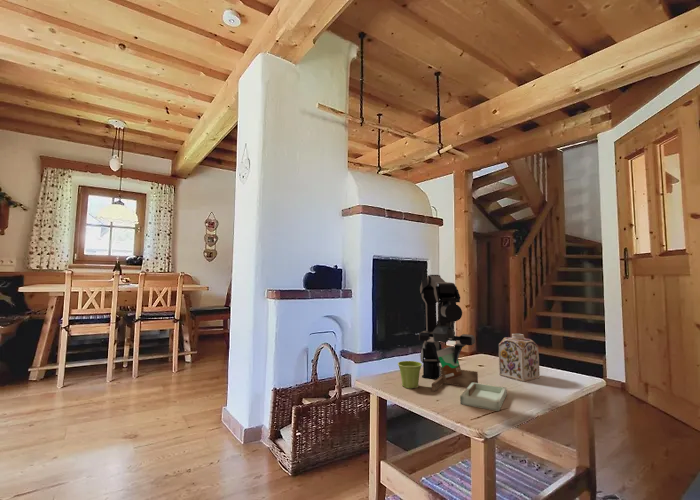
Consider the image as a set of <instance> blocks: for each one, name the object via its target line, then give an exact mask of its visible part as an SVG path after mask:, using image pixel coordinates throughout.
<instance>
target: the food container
mask: <svg viewBox="0 0 700 500" xmlns="http://www.w3.org/2000/svg"><path fill="white" fill-rule="evenodd" d="M437 355H438V357H439V360H440V363H439V364H440V366H441V367H442V368H443V371H444V374H445V377H446V380H449V379H452V378H456V377H459V376H461V375H462V372H461V370H462V368H461V365H460V361H459V359H458V360H457V363H456V364H455V362H454V357H455V346H454V345H453V346H448V347H445V348H444V347H443V348H442V350H439V351H437Z"/></svg>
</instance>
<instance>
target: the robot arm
mask: <svg viewBox="0 0 700 500" xmlns="http://www.w3.org/2000/svg"><path fill="white" fill-rule="evenodd" d="M419 291H420V294H421V299H422V300H423V302H424V303H425V328H426V329H425V330H423V331H421V332H419V334H418V341H421V342H423V343H422V348H421V352H420V355H419V357H420V358H419V360H420V363H421V364H422V375H421V377H422V378H426V379H432V380H437V379H438V378H440V377H441V367H442V366H441V363H440V360H439V357H438V355H437V351H439V350H442V349H443V347H442V344H441V342H442V343H448V342H449V341H452V342H455V344H454V345H453V346H454V347H455V357H454V362H455V364H456V363H457V360H458V361H459V358H460V357H459V356H460V354H461V351H462V349H463V348H465V346H473V345H474V344H475V343H476V337H475V336H474V335H473V334H467V333H466V334H465V333H463V334H461V335H456V332H455V323H456V322H457V321H460V320H461V319H462V317H463V310H462V307H460V306H459V305H458V304H457V303H461V295H460V293H459V289H458V287H457V286H456V284H455V283H454V282H450V281H449V282H447V281H445V280H444V279H443V278H442V277H441V275H440V274H428V275H427V277H426V278H425V279H424V280H422V281H421V284H420V287H419Z"/></svg>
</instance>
